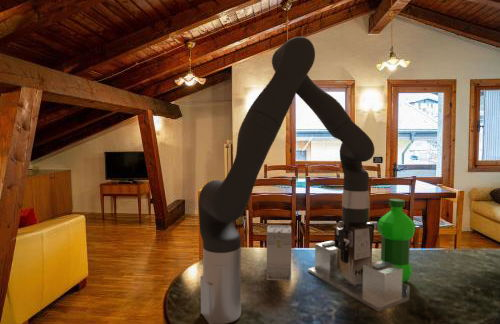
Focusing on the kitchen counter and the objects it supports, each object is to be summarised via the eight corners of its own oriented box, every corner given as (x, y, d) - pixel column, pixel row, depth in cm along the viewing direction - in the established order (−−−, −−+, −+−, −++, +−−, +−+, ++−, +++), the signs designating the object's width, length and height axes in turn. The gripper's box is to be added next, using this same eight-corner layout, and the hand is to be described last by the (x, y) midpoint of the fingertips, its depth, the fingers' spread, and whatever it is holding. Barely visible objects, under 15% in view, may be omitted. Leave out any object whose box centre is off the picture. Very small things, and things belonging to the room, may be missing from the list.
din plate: (378, 311, 82) (379, 274, 81) (307, 271, 107) (308, 242, 106) (409, 300, 88) (410, 265, 87) (335, 264, 112) (335, 237, 112)
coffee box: (372, 282, 94) (374, 227, 92) (353, 285, 92) (355, 229, 91) (353, 269, 102) (354, 219, 101) (335, 272, 101) (336, 221, 99)
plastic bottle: (414, 278, 101) (417, 199, 100) (409, 291, 93) (412, 205, 91) (380, 270, 107) (383, 195, 105) (372, 282, 98) (375, 201, 96)
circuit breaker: (290, 263, 114) (290, 220, 113) (291, 280, 100) (291, 232, 98) (268, 262, 114) (268, 220, 113) (266, 279, 100) (266, 232, 99)
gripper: (362, 200, 102) (361, 251, 103) (327, 205, 95) (326, 260, 96) (382, 204, 96) (380, 259, 97) (346, 210, 89) (345, 269, 90)
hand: (354, 259), depth 97 cm, fingers closed on coffee box, 7 cm apart
